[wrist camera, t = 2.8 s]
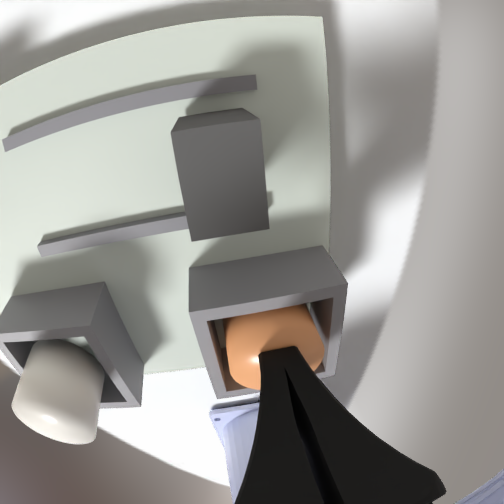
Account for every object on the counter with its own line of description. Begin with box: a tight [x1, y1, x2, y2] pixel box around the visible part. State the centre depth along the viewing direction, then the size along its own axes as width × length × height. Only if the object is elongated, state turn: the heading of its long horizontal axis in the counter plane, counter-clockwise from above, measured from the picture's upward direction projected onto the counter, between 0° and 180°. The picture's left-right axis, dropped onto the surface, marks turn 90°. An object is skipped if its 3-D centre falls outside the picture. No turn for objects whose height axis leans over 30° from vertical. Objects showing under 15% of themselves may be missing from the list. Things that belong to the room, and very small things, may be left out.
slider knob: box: [170, 108, 270, 242], centre depth 8 cm, size 3×2×3 cm
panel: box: [0, 16, 348, 408], centre depth 11 cm, size 15×18×5 cm
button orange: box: [222, 303, 325, 390], centre depth 12 cm, size 4×4×3 cm
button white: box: [12, 339, 105, 444], centre depth 10 cm, size 4×4×3 cm
